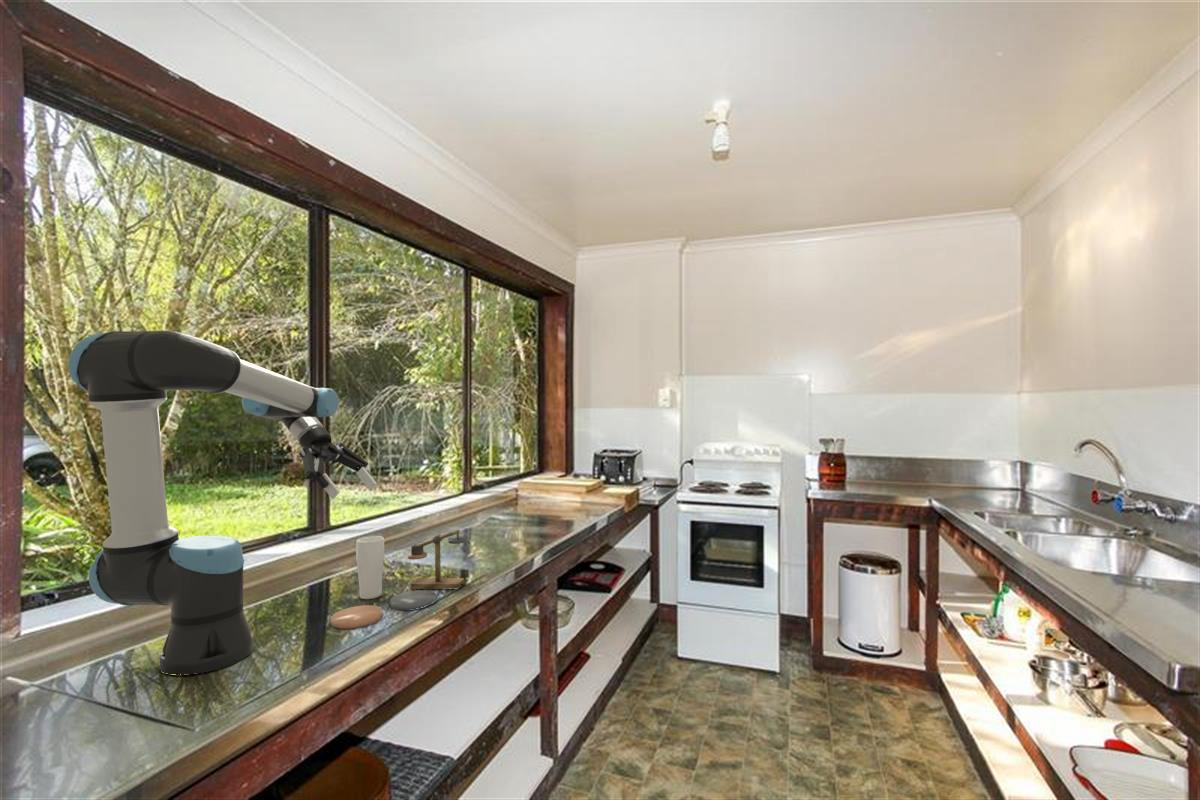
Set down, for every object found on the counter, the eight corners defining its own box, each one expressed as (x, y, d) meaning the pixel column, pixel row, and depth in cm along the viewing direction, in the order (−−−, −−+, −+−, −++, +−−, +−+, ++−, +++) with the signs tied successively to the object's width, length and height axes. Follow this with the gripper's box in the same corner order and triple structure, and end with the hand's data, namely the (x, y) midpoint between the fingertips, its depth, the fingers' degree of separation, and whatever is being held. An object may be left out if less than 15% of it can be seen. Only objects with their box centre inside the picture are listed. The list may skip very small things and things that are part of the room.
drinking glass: (350, 598, 141) (350, 540, 141) (372, 590, 147) (372, 534, 147) (368, 602, 138) (368, 543, 138) (390, 594, 144) (389, 537, 144)
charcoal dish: (382, 610, 132) (382, 605, 132) (401, 594, 143) (401, 590, 143) (427, 610, 132) (426, 605, 132) (442, 594, 143) (442, 590, 143)
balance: (405, 589, 147) (404, 531, 148) (412, 583, 152) (411, 527, 153) (464, 589, 147) (463, 531, 147) (470, 583, 152) (469, 527, 152)
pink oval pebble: (320, 628, 122) (320, 623, 122) (346, 610, 133) (346, 605, 133) (368, 629, 121) (368, 623, 121) (390, 610, 132) (390, 605, 132)
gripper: (338, 441, 165) (379, 492, 160) (264, 448, 141) (310, 509, 136) (352, 423, 163) (394, 475, 158) (279, 427, 139) (326, 488, 135)
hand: (355, 491), depth 147 cm, fingers open, 13 cm apart
